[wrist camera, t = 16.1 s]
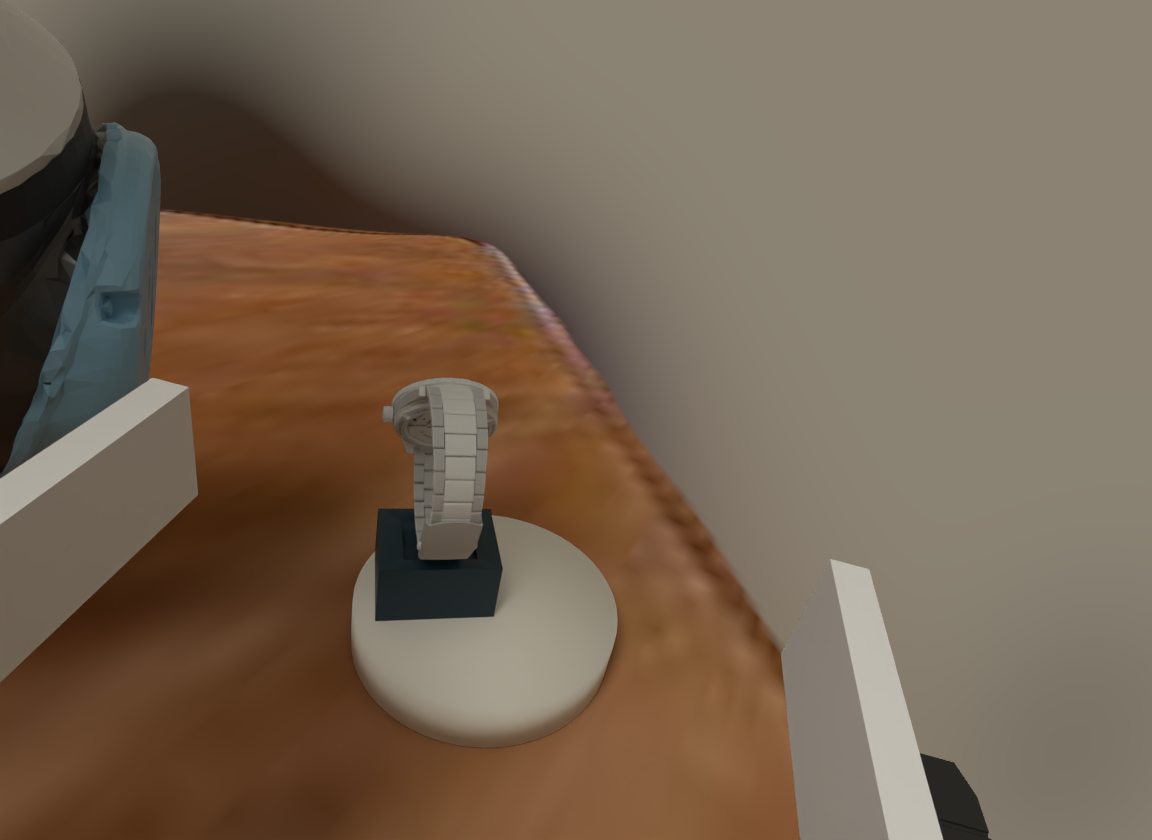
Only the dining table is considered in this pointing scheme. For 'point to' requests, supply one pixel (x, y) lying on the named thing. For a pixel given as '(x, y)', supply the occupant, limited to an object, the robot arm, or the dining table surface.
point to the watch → (440, 507)
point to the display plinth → (494, 648)
